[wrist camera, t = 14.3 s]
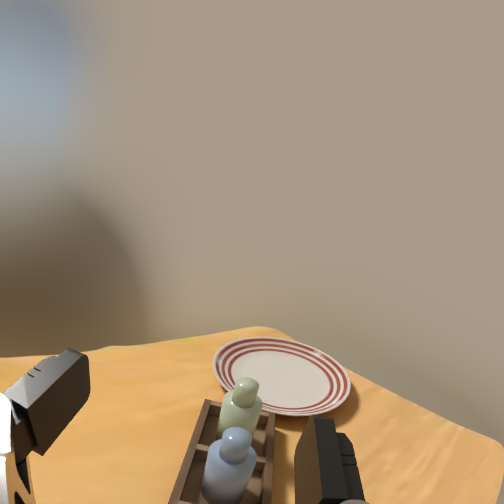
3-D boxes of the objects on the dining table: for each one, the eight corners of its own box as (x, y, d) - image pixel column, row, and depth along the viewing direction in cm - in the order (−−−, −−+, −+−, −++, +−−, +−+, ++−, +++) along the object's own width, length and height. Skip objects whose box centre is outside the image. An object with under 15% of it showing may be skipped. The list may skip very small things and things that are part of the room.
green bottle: (212, 448, 37) (224, 390, 35) (218, 425, 43) (230, 368, 40) (249, 456, 37) (267, 399, 35) (252, 432, 42) (268, 376, 40)
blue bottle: (197, 502, 28) (207, 448, 25) (205, 472, 33) (216, 415, 31) (241, 511, 27) (261, 459, 25) (245, 481, 33) (264, 425, 30)
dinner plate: (250, 442, 41) (254, 428, 40) (192, 351, 64) (194, 337, 64) (371, 405, 54) (377, 392, 54) (297, 343, 78) (300, 331, 77)
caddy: (167, 515, 25) (167, 503, 25) (202, 412, 46) (205, 398, 45) (263, 534, 25) (269, 524, 24) (270, 426, 45) (275, 413, 45)
